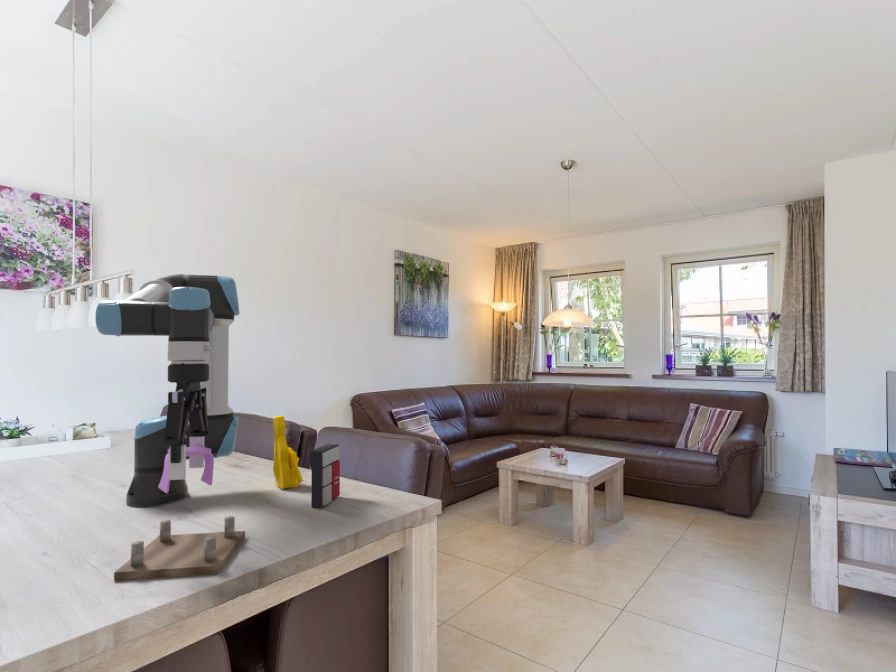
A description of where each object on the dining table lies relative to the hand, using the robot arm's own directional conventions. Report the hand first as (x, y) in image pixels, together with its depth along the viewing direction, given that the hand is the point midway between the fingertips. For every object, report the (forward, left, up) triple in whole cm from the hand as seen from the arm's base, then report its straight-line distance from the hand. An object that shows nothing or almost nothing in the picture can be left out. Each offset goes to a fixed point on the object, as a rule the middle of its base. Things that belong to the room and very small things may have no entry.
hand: (187, 473), depth 98 cm
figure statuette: (+10, +51, -17) cm, 55 cm away
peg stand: (0, 0, -17) cm, 17 cm away
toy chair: (0, 0, -3) cm, 3 cm away
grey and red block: (+24, +33, -17) cm, 44 cm away
